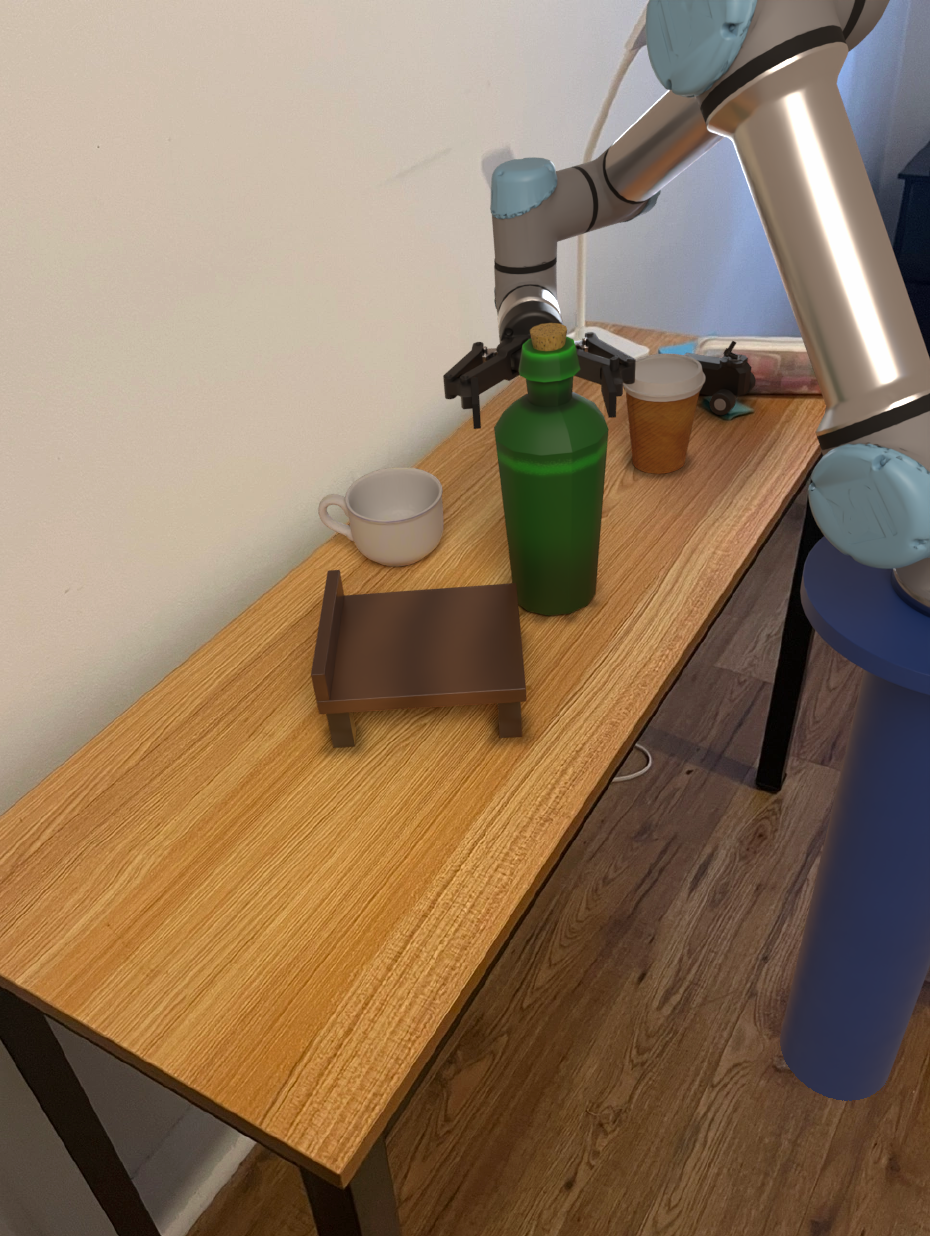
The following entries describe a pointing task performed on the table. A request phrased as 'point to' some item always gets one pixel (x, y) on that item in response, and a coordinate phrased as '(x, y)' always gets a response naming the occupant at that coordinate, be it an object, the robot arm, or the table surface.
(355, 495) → the teacup
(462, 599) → the shelf
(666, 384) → the disposable coffee cup
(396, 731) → the table surface
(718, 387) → the toy vehicle
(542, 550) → the bottle
